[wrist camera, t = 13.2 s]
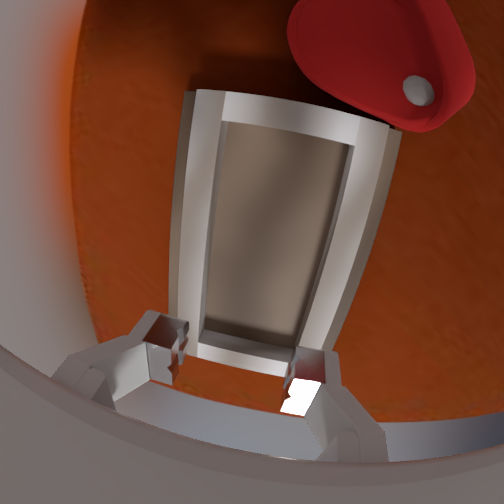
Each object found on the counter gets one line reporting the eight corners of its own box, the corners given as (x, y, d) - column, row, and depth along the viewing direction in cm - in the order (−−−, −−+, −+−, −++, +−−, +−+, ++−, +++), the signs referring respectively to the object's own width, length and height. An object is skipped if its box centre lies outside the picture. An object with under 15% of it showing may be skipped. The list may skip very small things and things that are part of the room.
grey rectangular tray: (395, 131, 14) (411, 133, 12) (322, 358, 21) (323, 383, 19) (192, 92, 15) (174, 87, 13) (174, 325, 22) (161, 346, 20)
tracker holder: (253, 36, 13) (374, 168, 14) (236, -5, 9) (401, 163, 10) (392, -36, 10) (495, 73, 10) (405, -72, 5) (532, 55, 6)
